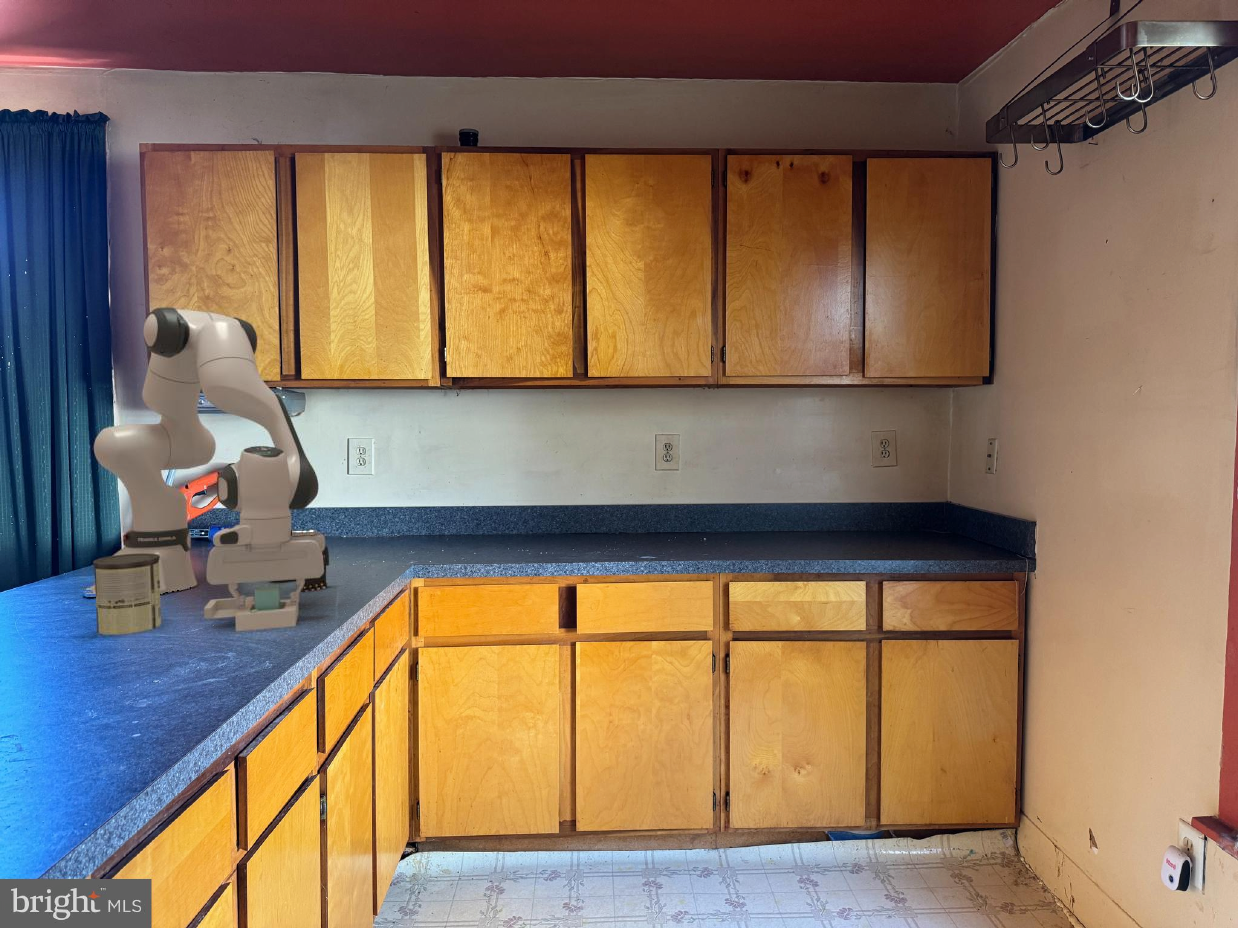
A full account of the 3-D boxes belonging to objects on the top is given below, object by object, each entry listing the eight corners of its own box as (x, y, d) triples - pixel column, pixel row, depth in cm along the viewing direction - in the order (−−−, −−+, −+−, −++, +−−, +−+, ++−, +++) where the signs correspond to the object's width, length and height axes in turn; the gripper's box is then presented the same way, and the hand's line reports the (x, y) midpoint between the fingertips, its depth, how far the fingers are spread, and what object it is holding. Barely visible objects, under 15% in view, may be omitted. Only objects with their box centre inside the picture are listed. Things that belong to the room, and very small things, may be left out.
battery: (304, 597, 168) (302, 547, 168) (294, 595, 170) (293, 545, 170) (332, 591, 174) (331, 543, 173) (323, 589, 176) (322, 541, 175)
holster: (204, 623, 146) (203, 608, 146) (211, 614, 153) (210, 599, 153) (249, 620, 149) (249, 605, 148) (254, 610, 156) (254, 596, 156)
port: (236, 636, 137) (235, 612, 137) (243, 623, 146) (242, 600, 146) (295, 631, 140) (294, 608, 140) (298, 618, 150) (298, 596, 150)
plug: (255, 628, 141) (254, 591, 140) (258, 622, 145) (257, 586, 144) (279, 626, 142) (278, 589, 142) (280, 620, 146) (279, 585, 146)
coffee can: (88, 633, 139) (85, 558, 138) (150, 622, 147) (147, 551, 146) (107, 644, 133) (104, 565, 132) (171, 631, 141) (168, 557, 140)
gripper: (325, 527, 149) (326, 595, 150) (209, 532, 142) (211, 604, 143) (324, 531, 143) (326, 603, 144) (203, 537, 136) (205, 612, 137)
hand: (268, 603), depth 143 cm, fingers open, 8 cm apart
